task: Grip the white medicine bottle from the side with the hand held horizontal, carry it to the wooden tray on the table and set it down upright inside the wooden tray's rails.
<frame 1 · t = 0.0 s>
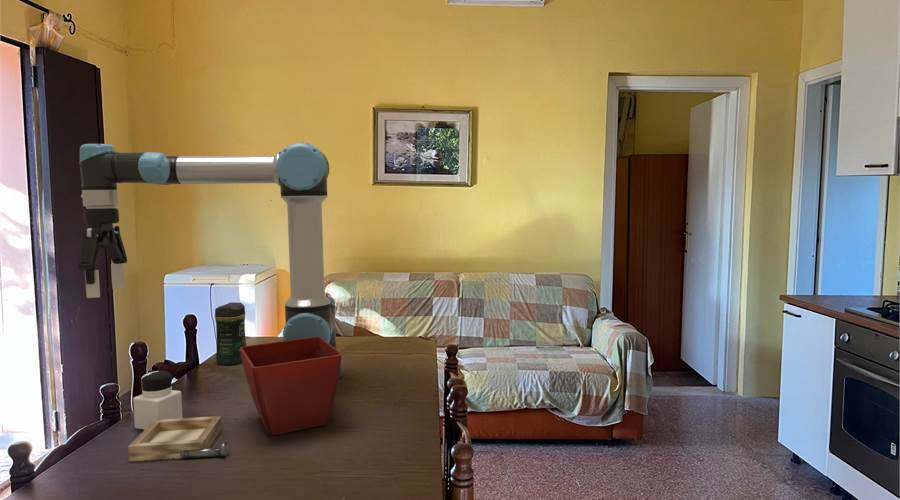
hand: (106, 293, 145), 28 cm above the table, tool pointing down, fingers open, 13 cm apart
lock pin: (203, 456, 116), on the table
coffee jar: (232, 362, 184), on the table
wooden tray: (178, 444, 122), on the table
plant pot: (292, 422, 133), on the table
medicine bottle: (159, 425, 133), on the table
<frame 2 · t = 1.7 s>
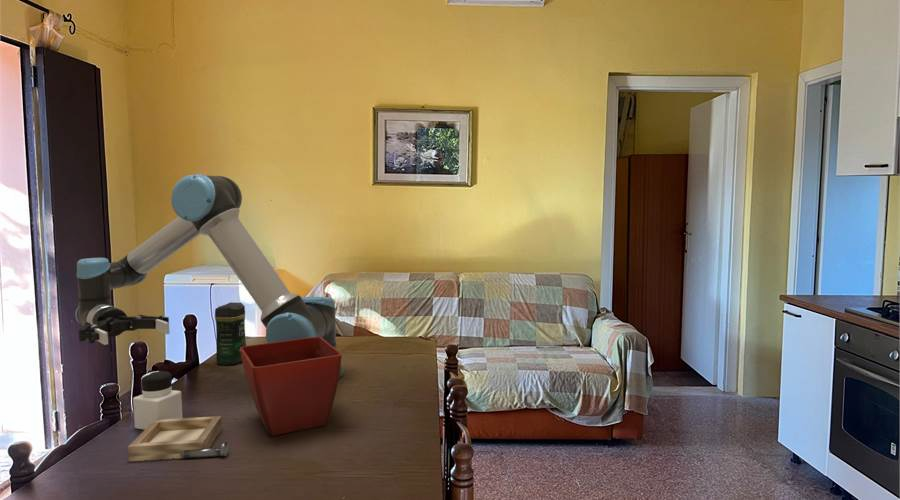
hand: (138, 333, 137), 20 cm above the table, tool horizontal, fingers open, 13 cm apart
nothing on the table moved.
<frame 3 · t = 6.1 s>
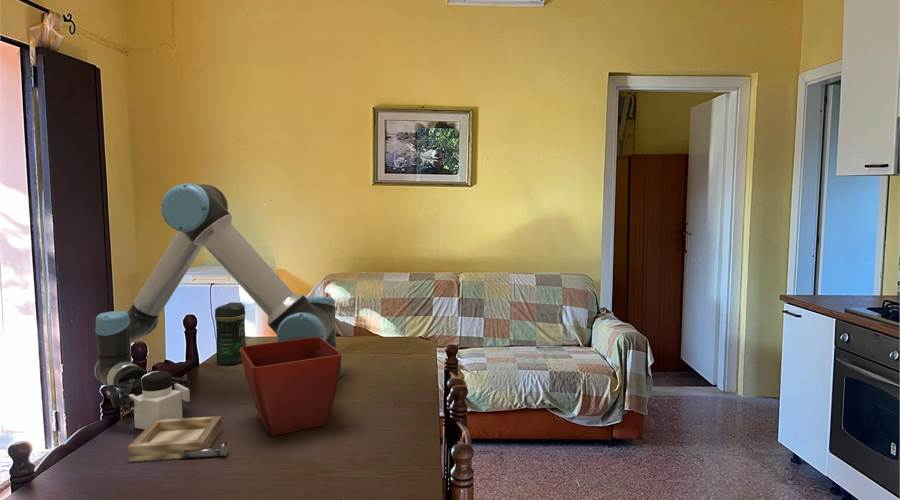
hand: (165, 401, 129), 7 cm above the table, tool horizontal, fingers closed on medicine bottle, 9 cm apart
medicine bottle: (159, 425, 133), on the table, touching gripper
everything else where it was.
when the fingers open (9 cm above the table, at t = 10.8 s): medicine bottle drops 1 cm, resting on wooden tray.
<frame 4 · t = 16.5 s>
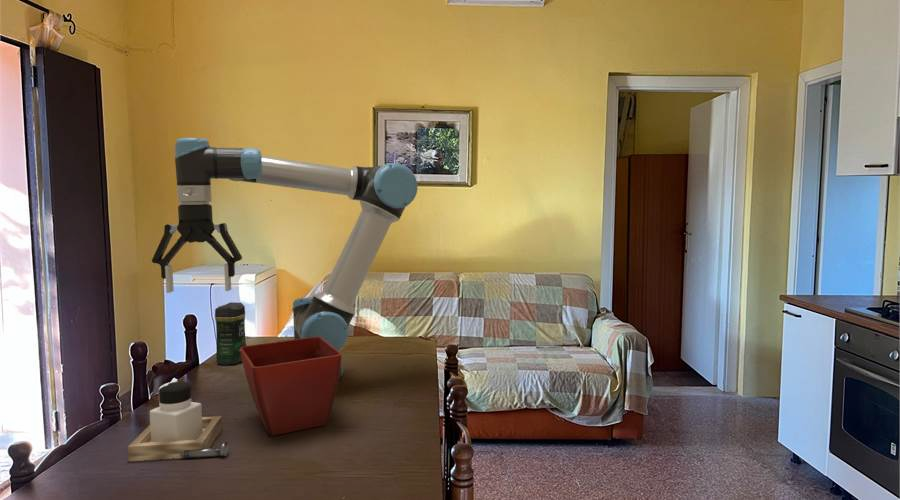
hand: (199, 291, 142), 29 cm above the table, tool pointing down, fingers open, 13 cm apart
medicine bottle: (177, 440, 122), point 1 cm above the table, touching wooden tray
everything else where it was.
at the end: medicine bottle inside the target area on the wooden tray (0.1 cm from its centre), point 0.8 cm above the wooden tray's base; medicine bottle tilted 0°; the gripper is holding nothing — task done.
